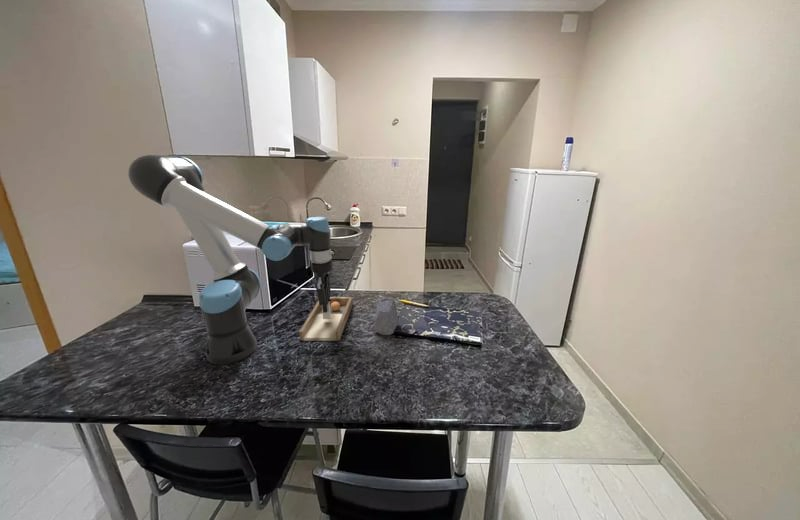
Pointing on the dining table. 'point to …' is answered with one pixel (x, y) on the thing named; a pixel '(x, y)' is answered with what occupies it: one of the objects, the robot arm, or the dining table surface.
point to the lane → (326, 322)
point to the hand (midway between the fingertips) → (326, 318)
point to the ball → (335, 306)
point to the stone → (386, 317)
